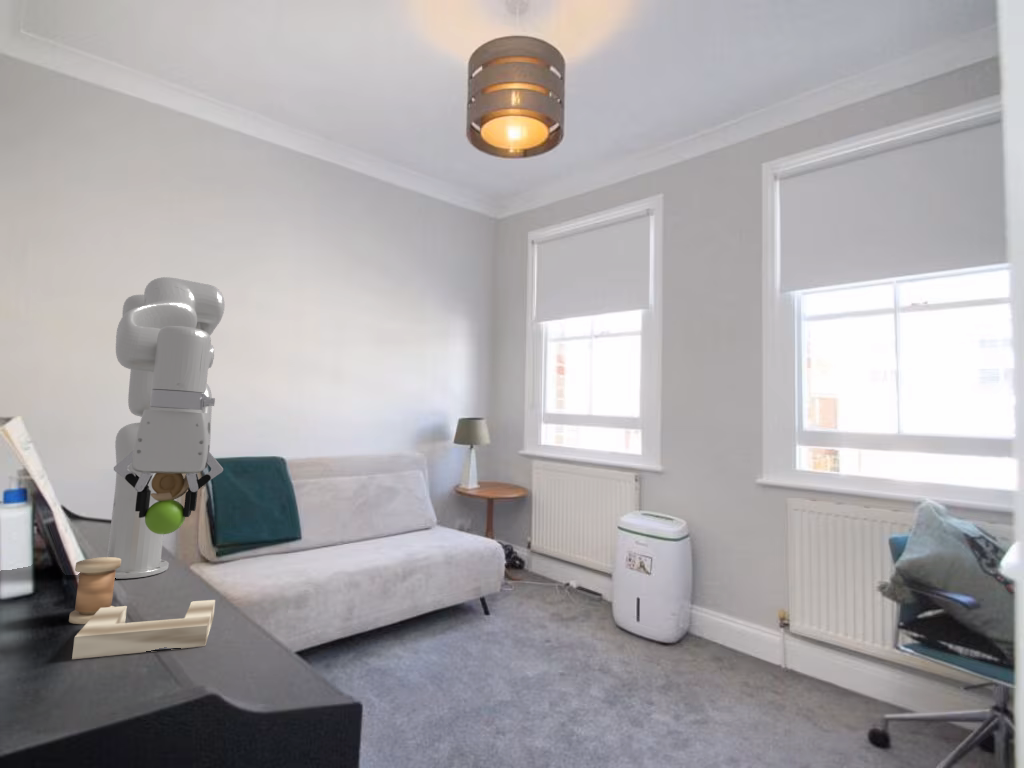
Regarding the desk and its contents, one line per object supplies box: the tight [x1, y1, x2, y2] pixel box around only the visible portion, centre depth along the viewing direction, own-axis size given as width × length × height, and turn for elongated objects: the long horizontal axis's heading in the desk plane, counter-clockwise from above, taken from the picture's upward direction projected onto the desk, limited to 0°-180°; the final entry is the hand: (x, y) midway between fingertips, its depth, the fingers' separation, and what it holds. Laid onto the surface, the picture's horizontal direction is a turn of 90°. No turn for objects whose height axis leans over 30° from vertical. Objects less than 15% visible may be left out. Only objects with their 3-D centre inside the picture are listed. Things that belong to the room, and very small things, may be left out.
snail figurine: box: [145, 473, 189, 535], centre depth 85 cm, size 5×6×12 cm
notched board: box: [71, 599, 216, 660], centre depth 82 cm, size 12×16×3 cm
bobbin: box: [68, 556, 121, 625], centre depth 88 cm, size 6×6×9 cm
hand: (165, 514), depth 85 cm, fingers closed on snail figurine, 5 cm apart
